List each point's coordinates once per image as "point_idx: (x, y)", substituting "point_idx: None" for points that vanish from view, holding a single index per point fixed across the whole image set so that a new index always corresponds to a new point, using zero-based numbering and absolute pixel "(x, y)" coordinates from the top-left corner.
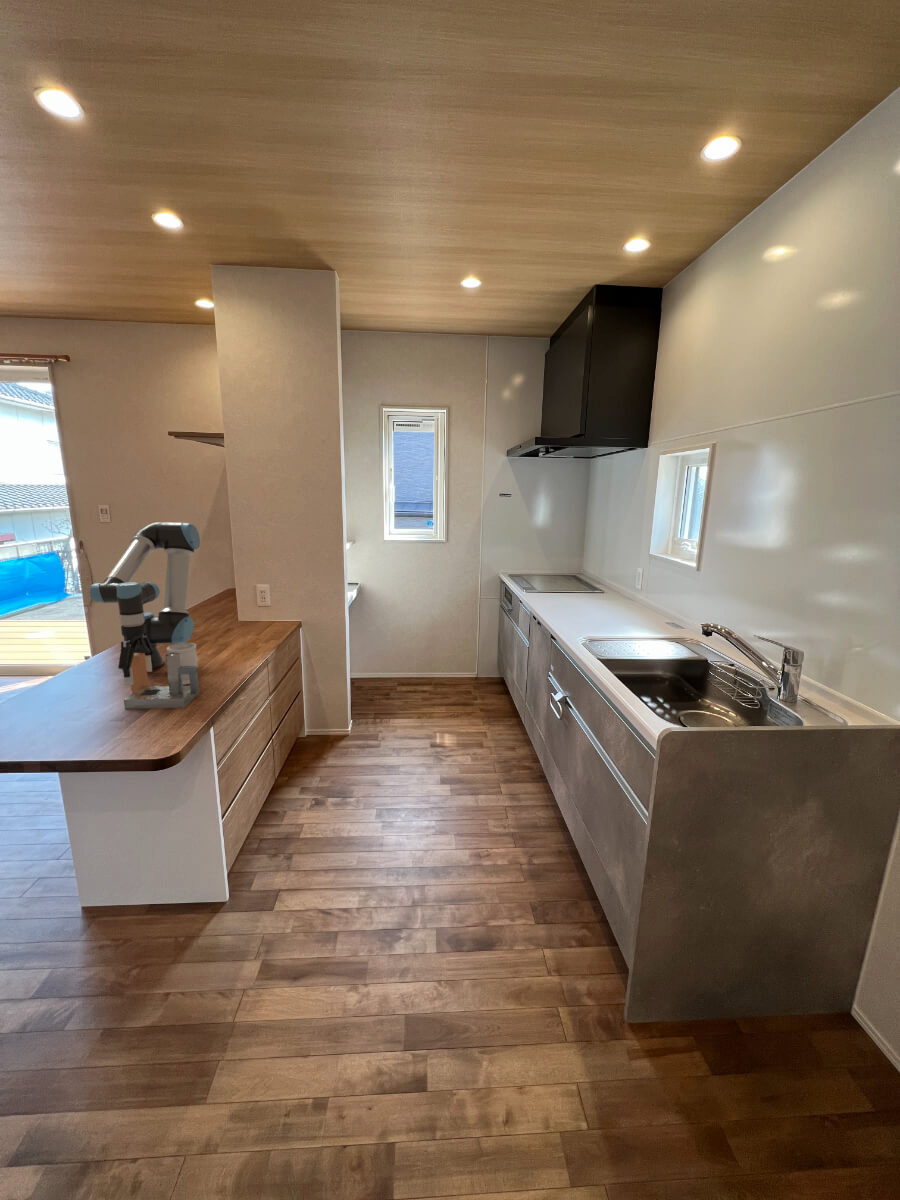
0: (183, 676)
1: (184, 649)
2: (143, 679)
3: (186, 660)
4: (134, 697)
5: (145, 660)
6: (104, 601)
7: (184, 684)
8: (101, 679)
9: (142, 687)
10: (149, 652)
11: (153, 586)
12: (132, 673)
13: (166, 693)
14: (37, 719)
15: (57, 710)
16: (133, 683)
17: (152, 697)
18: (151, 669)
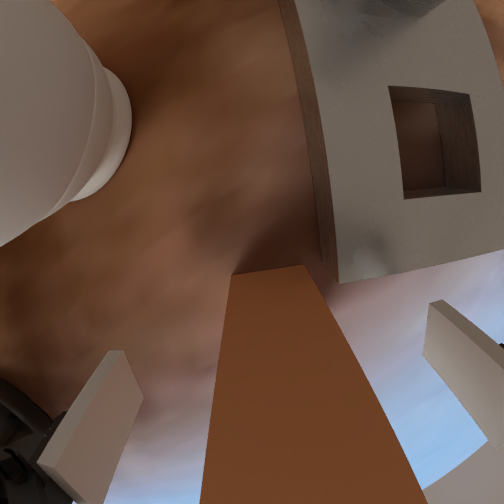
0: (101, 65)
1: None
2: (303, 311)
3: None
4: (500, 202)
5: (209, 468)
6: None
7: (123, 87)
8: (167, 491)
9: (362, 259)
10: (28, 497)
11: None
12: (490, 354)
13: (432, 30)
14: (478, 427)
15: (437, 440)
16: (437, 305)
17: (490, 93)
18: (109, 360)
